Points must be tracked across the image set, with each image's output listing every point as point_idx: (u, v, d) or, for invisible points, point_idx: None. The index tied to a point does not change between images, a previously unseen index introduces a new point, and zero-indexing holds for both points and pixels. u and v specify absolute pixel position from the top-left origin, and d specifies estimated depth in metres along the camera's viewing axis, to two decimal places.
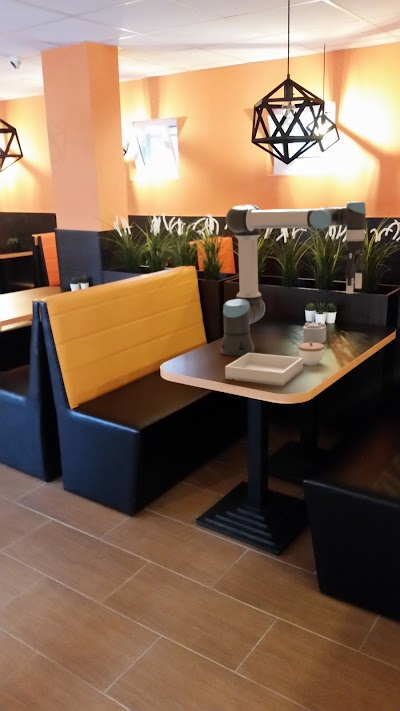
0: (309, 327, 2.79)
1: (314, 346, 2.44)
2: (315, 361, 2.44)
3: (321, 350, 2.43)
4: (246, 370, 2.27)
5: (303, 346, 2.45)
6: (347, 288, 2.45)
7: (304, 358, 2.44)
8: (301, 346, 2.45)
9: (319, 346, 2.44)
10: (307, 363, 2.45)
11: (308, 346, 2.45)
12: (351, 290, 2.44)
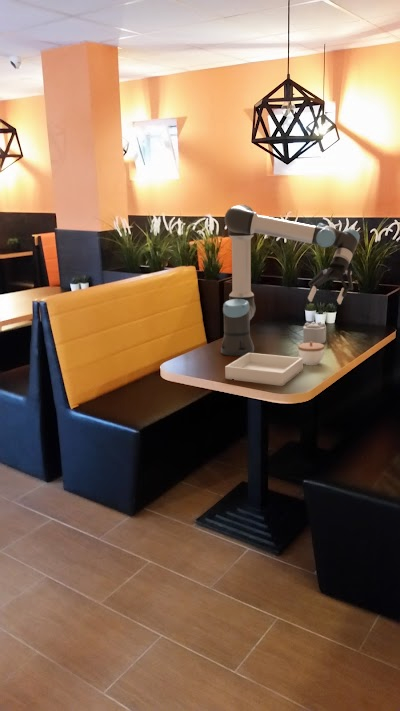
0: (309, 327, 2.79)
1: (314, 346, 2.44)
2: (315, 361, 2.44)
3: (321, 350, 2.43)
4: (246, 370, 2.27)
5: (303, 346, 2.45)
6: (340, 297, 2.45)
7: (304, 358, 2.44)
8: (301, 346, 2.45)
9: (319, 346, 2.44)
10: (307, 363, 2.45)
11: (308, 346, 2.45)
12: (341, 301, 2.46)
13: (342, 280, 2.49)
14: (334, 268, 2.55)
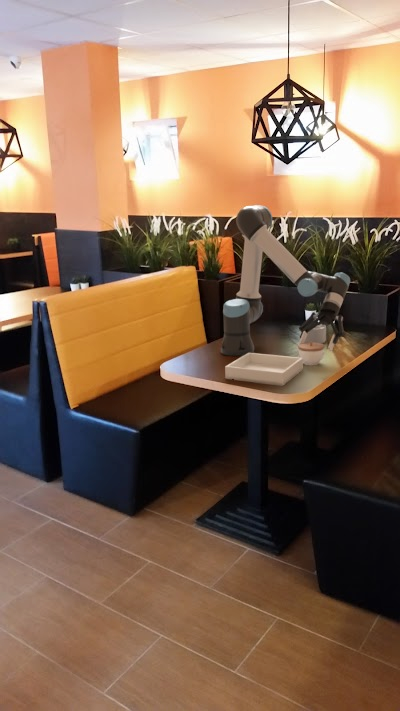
0: None
1: (314, 346, 2.44)
2: (315, 361, 2.44)
3: (321, 350, 2.43)
4: (246, 370, 2.27)
5: (303, 346, 2.45)
6: (331, 344, 2.43)
7: (304, 359, 2.44)
8: (301, 346, 2.45)
9: (319, 346, 2.44)
10: (307, 363, 2.45)
11: (308, 346, 2.45)
12: (332, 348, 2.43)
13: (333, 326, 2.46)
14: (325, 313, 2.52)
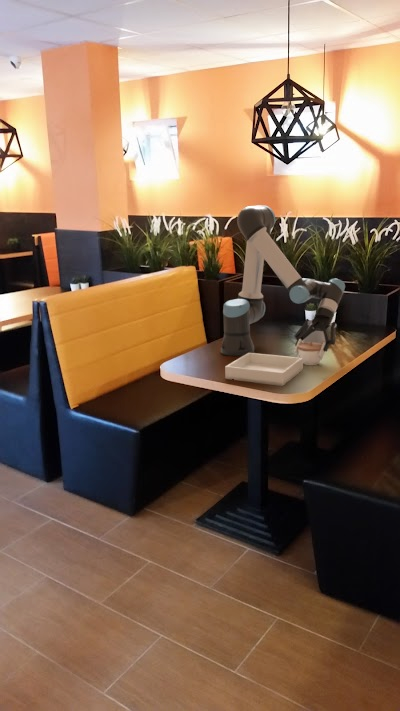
0: None
1: (314, 346, 2.44)
2: (315, 361, 2.44)
3: None
4: (246, 370, 2.27)
5: (303, 346, 2.45)
6: (322, 351, 2.42)
7: (304, 358, 2.44)
8: (301, 346, 2.45)
9: (319, 346, 2.44)
10: (307, 363, 2.45)
11: (308, 346, 2.45)
12: (322, 355, 2.42)
13: (325, 333, 2.45)
14: (319, 318, 2.51)
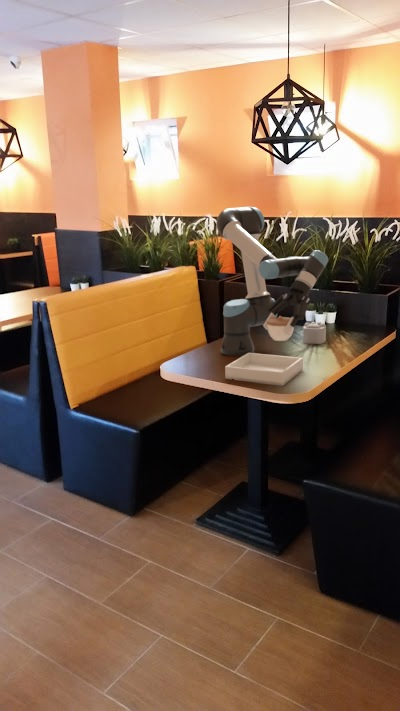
0: (309, 327, 2.79)
1: (282, 321, 2.30)
2: (282, 336, 2.30)
3: None
4: (246, 370, 2.27)
5: (271, 320, 2.32)
6: (288, 326, 2.27)
7: (271, 333, 2.31)
8: (269, 320, 2.32)
9: (287, 321, 2.30)
10: (274, 338, 2.32)
11: (276, 320, 2.31)
12: (289, 331, 2.28)
13: (295, 308, 2.30)
14: (294, 292, 2.36)
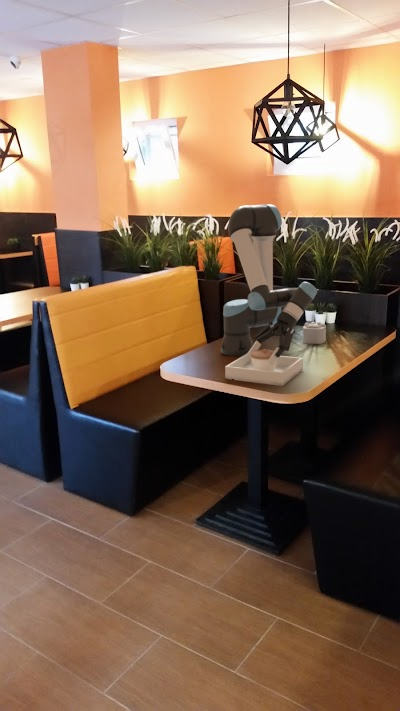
0: (309, 327, 2.79)
1: (265, 354, 2.32)
2: None
3: None
4: (246, 370, 2.27)
5: (255, 353, 2.34)
6: (273, 357, 2.28)
7: (254, 366, 2.33)
8: (253, 353, 2.35)
9: (270, 354, 2.31)
10: None
11: (260, 353, 2.33)
12: (274, 361, 2.28)
13: (280, 339, 2.30)
14: (279, 324, 2.36)
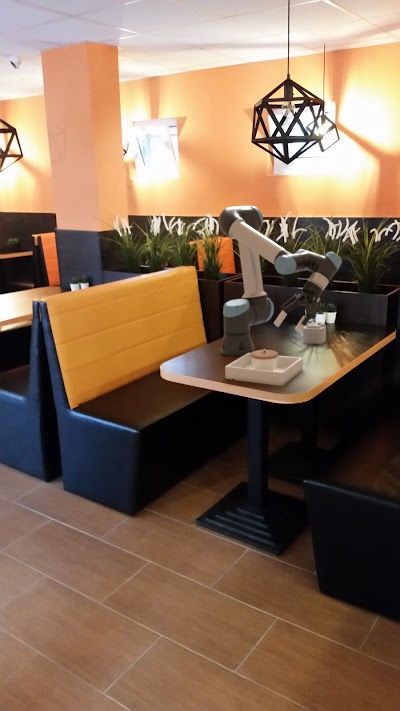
0: (309, 327, 2.79)
1: (265, 354, 2.32)
2: None
3: (271, 359, 2.30)
4: (246, 370, 2.27)
5: (255, 353, 2.34)
6: (299, 325, 2.32)
7: (254, 366, 2.33)
8: (253, 353, 2.35)
9: (270, 354, 2.31)
10: None
11: (260, 353, 2.33)
12: (300, 329, 2.32)
13: (307, 307, 2.34)
14: (305, 293, 2.40)
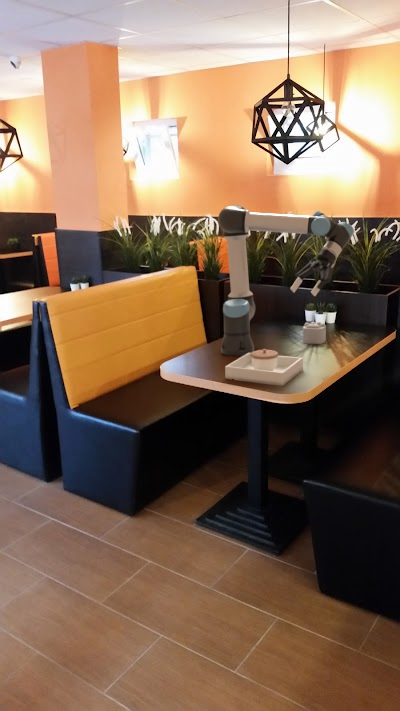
0: (309, 327, 2.79)
1: (265, 354, 2.32)
2: None
3: (271, 359, 2.30)
4: (246, 370, 2.27)
5: (255, 353, 2.34)
6: (315, 289, 2.49)
7: (254, 366, 2.33)
8: (253, 353, 2.35)
9: (270, 354, 2.31)
10: None
11: (260, 353, 2.33)
12: (316, 293, 2.50)
13: (322, 273, 2.52)
14: (320, 261, 2.58)
